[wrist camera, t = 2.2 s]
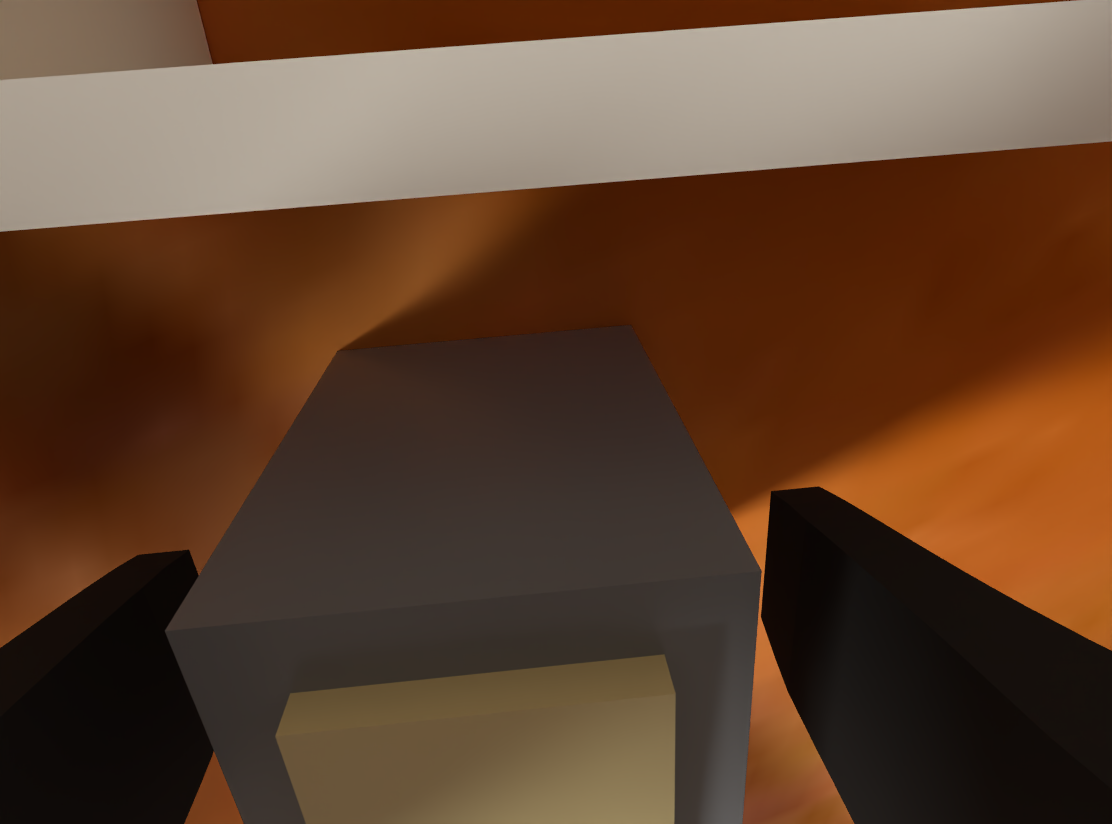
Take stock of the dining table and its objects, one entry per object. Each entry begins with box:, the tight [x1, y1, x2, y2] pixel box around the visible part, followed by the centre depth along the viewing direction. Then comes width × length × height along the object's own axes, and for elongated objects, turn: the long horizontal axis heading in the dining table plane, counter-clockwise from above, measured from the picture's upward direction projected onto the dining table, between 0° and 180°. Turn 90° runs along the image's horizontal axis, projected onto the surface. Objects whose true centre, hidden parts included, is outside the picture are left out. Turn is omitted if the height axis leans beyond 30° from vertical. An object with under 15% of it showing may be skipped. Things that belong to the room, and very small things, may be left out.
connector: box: [165, 325, 761, 824], centre depth 9 cm, size 4×4×6 cm
